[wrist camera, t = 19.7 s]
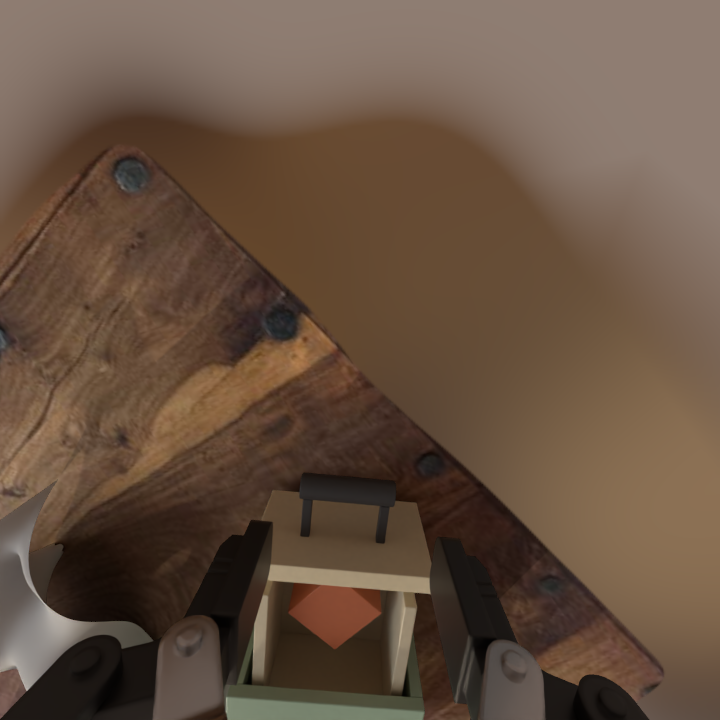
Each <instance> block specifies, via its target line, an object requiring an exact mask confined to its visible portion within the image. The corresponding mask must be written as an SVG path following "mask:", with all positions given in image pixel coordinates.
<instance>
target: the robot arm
mask: <svg viewBox="0 0 720 720" xmlns="http://www.w3.org/2000/svg"><path fill="white" fill-rule="evenodd" d="M272 537H273V522H270V521H259V520H251V521H250V523H249V525H248V527H247V530H246V532H245V534H244V536H242V535H232V536H230V537H229V538H228V539H227V540H226V541H225V542H224V543H223V544H222V545H221V546H220V548H219V550H218V552H217V554H216V556H215V558H214V561H213V562H212V564H211V565H210V567H209V569H208V573H206V575H205V577H204V579H203V581H202V583H201V585H200V587H199V589H198V591H197V593H196V595H195V597H194V599H193V601H192V603H191V605H190V607H189V609H188V611H187V613H186V615H185V617H184V618H183V619H181V620H179V621H178V622H176V623H175V624H174V625H172V626H171V627H170V628H169V629H168V630H167V631H166V633H165V634H164V635H163V637H161V638H159V639H157V640H155V641H152V642H148V643H144V644H140V645H136V646H131V647H127V648H123V649H122V648H121V644H120V642H119V640H118V639H117V638H115V637H113V636H111V635H96V636H92V637H89V638H86V639H84V640H82V641H80V642H78V643H76V644H75V645H73V646H72V647H70V648H69V649H68V650H66V651H65V652H64V653H63V654H62V655H61V656H60V657H59V658H58V659H57V660H56V661H55V662H54V663H53V664H52V665H51V666H50V667H49V669H48V670H47V671H46V672H45V673H44V674H43V675H42V676H41V677H40V678H39V679H38V680H37V681H36V682H35V683H34V684H33V685H32V686H31V687H30V688H29V690H28V691H27V692H26V693H25V694H24V695H23V696H22V697H21V698H20V699H19V700H18V701H17V702H16V703H15V704H14V705H13V706H12V707H11V708H10V709H9V711H8V712H7V713H6V714H5V715H4V716H3V717H2V718H1V719H0V720H228V719H227V713H226V712H225V705H224V692H223V691H224V688H225V685H237V681H238V678H239V675H240V671H241V668H242V664H243V661H244V658H245V654H246V651H247V647H248V644H249V641H250V637H251V634H252V631H253V627H254V624H255V620H256V617H257V614H258V610H259V607H260V604H261V600H262V597H263V593H264V590H265V587H266V583H267V580H268V576H269V571H270V565H271V555H272ZM429 583H430V593H431V598H432V603H433V607H434V612H435V616H436V621H437V625H438V630H439V634H440V639H441V643H442V648H443V652H444V657H445V661H446V666H447V670H448V675H449V680H450V684H451V689H452V693H453V698H454V702H455V703H461V704H467V705H468V709H469V713H470V717H471V718H470V720H649V719H648V718H647V716H646V715H645V714H644V713H643V711H642V710H641V709H640V707H639V706H638V705H637V703H636V702H635V701H634V700H633V699H632V697H631V696H630V695H629V694H628V693H627V692H626V691H625V690H623V689H622V688H621V687H620V686H618V685H617V684H616V683H614V682H612V681H611V680H609V679H607V678H605V677H602V676H599V675H586V676H584V677H583V678H582V679H581V680H580V682H579V685H578V686H577V685H575V684H572V683H570V682H567V681H565V680H563V679H560V678H558V677H555V676H553V675H551V674H548V673H546V672H545V671H543V670H541V669H540V666H539V664H538V663H537V661H536V660H535V659H534V657H533V656H532V655H531V654H530V653H529V652H528V651H527V650H526V649H525V648H523V647H522V646H520V645H519V644H518V642H517V640H516V638H515V636H514V633H513V631H512V628H511V626H510V624H509V621H508V619H507V617H506V614H505V612H504V610H503V607H502V605H501V603H500V600H499V598H497V593H496V591H495V589H494V586H492V582H491V579H490V577H489V575H488V572H487V570H486V568H485V567H484V566H483V565H482V564H481V563H480V561H479V560H478V559H477V558H476V557H475V556H466V554H465V551H464V548H463V546H462V543H461V541H460V539H457V538H446V537H437V539H436V542H435V548H434V553H433V559H432V564H431V570H430V579H429Z"/></svg>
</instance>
